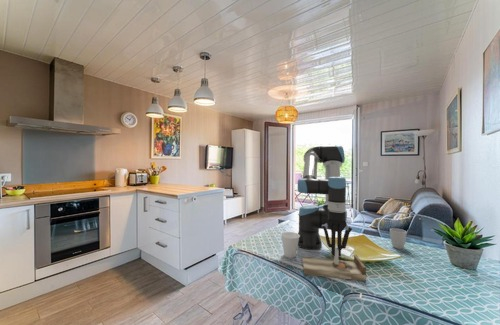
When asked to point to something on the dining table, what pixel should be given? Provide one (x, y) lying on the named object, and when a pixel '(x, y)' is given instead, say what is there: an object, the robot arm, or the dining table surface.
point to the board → (334, 268)
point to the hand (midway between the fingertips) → (336, 262)
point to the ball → (341, 265)
